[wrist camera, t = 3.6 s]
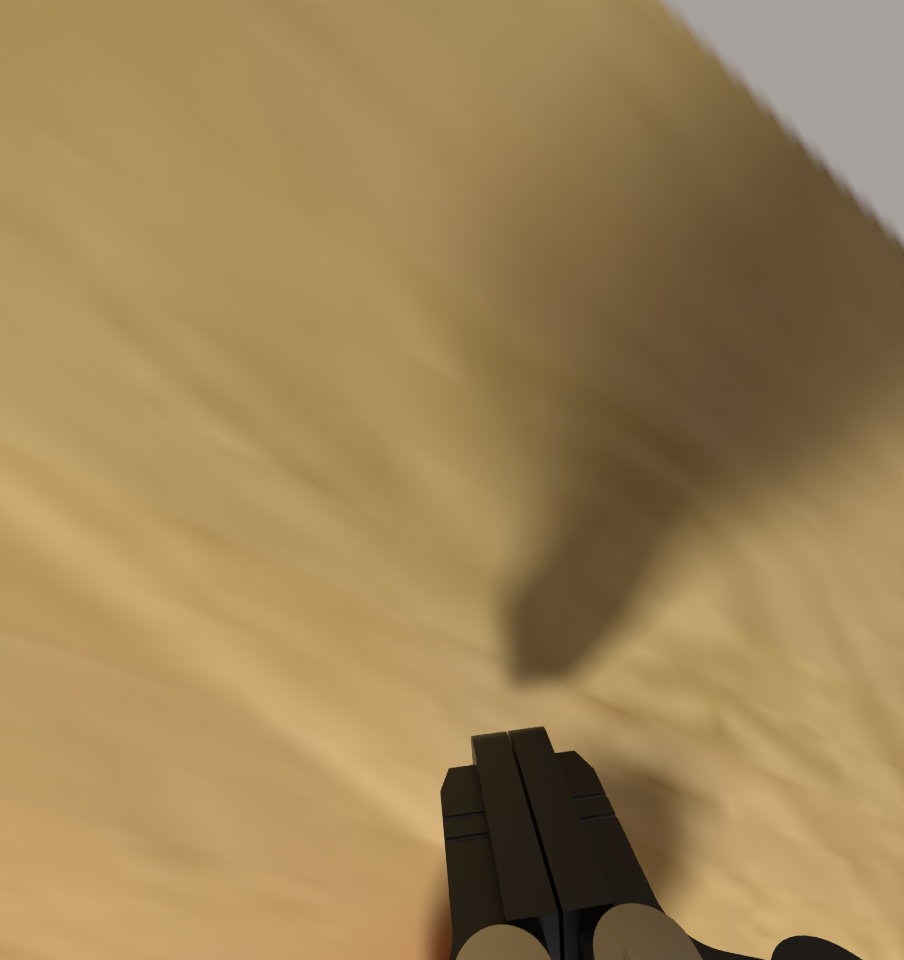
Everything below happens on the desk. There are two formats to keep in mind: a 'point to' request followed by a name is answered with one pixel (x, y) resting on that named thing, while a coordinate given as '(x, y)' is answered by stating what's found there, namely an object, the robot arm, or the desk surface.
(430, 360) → the desk surface
